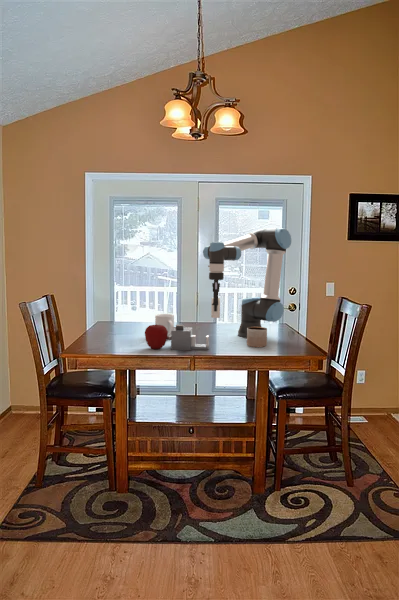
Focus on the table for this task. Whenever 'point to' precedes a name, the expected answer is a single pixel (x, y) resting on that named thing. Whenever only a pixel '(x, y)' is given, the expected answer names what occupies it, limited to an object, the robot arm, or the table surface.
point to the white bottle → (218, 308)
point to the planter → (256, 336)
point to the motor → (185, 339)
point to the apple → (156, 336)
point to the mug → (165, 321)
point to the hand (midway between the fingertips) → (215, 316)
